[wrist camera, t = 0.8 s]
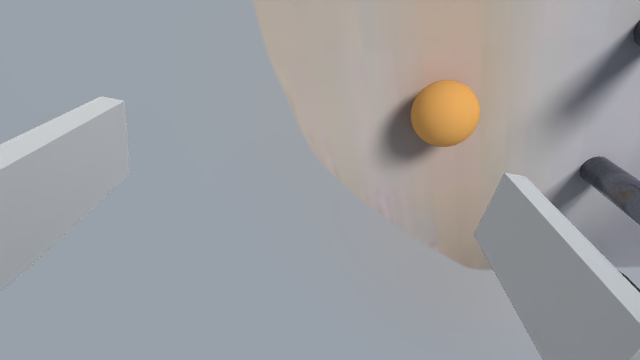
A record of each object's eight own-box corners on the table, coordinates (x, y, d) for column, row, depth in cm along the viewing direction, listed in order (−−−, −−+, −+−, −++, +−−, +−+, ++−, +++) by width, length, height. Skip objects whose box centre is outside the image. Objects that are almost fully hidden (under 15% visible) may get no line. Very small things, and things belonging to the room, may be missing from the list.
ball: (473, 73, 31) (497, 90, 26) (462, 132, 34) (482, 158, 29) (409, 73, 31) (421, 89, 26) (403, 132, 34) (413, 157, 29)
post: (614, 156, 34) (695, 209, 26) (603, 180, 35) (678, 237, 27) (585, 156, 34) (658, 208, 26) (576, 180, 35) (643, 237, 28)
